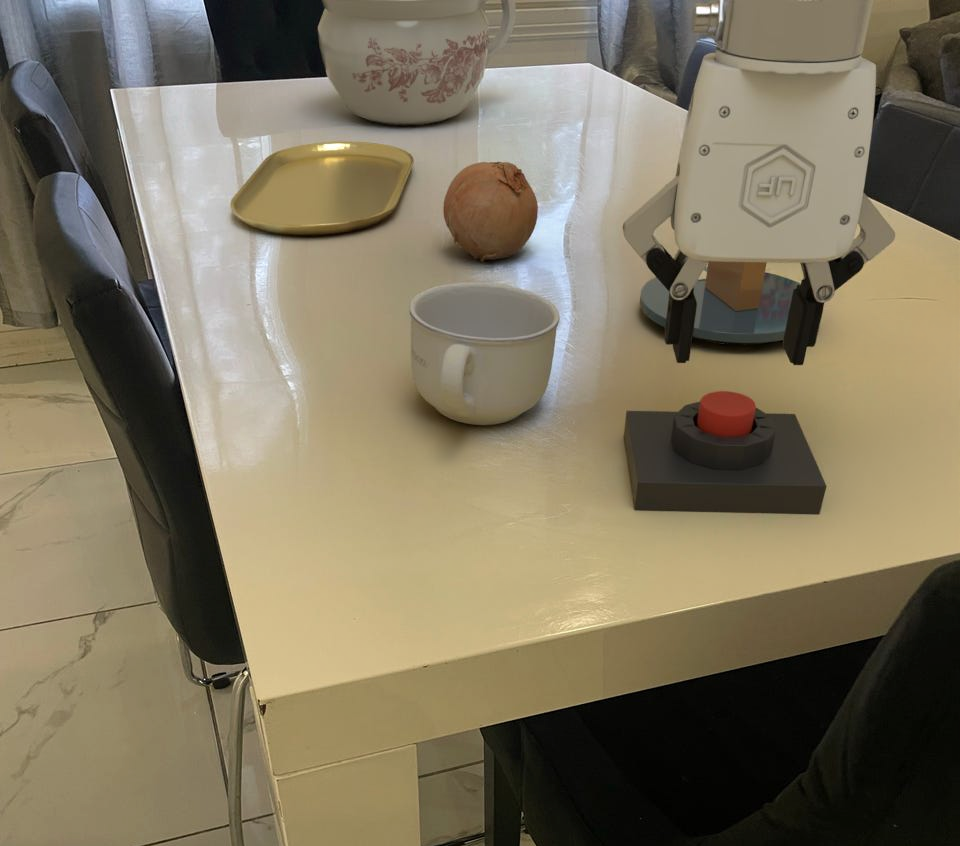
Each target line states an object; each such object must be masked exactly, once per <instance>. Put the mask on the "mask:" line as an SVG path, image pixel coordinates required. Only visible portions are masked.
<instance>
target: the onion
mask: <svg viewBox="0 0 960 846" xmlns="http://www.w3.org/2000/svg"><path fill="white" fill-rule="evenodd" d="M442 209H443V210H442V211H443V212H442V213H443V219H444V222H445V224H446V227H447V228H448V231H449V232H450V234H451V237H452V238H453V243H454V245H456V244H457V245H458V246H459V250H460V251H463V252H464V253H466V254H467V255H468V256H471V257H473V258H474V260H477V259H479V260H480V262H484V261H485V260H487V261H495V260H502V259H507V258H509V257H511V256H513V255H515V254H516V253H518V252H519V251H520V250H521V249H523V248H524V246H525V245H526V244H527V243H528V241H529V240H530V238H531V237H532V234H533V233H534V231H535V228H536V225H537V221H538V214H539V205H538V200H537V197H536V194H535V192H534V190H533V188H532V186H531V185H530V183H529V182H528V180H527V179H526V176H525V173H523V171H522V169H521V168H518V166H517V165H516V164H514V163H511V162H509V161H508V162H507V161H494V162H493V161H490V162H486V161H480V162H476V163H471V164H470V165H468V166H465V167H464V168H463V169H461V170H460V171H459V172H458V173H457V174H456V175H455V176H454V178H453V179H452V181H450V184H449V186H448V188H447V190H446V193H445V196H444V200H443V208H442Z"/></svg>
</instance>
